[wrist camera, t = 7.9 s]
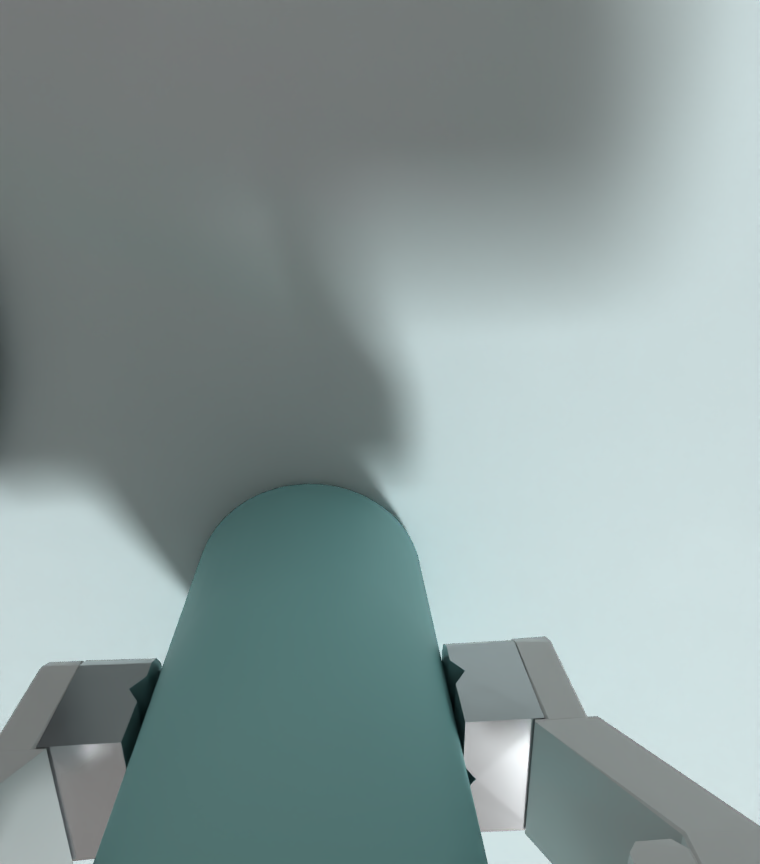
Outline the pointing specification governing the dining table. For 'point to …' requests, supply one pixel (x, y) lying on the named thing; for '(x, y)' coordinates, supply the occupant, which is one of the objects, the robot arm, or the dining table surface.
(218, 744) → the marker peg
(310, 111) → the dining table surface
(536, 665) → the robot arm
